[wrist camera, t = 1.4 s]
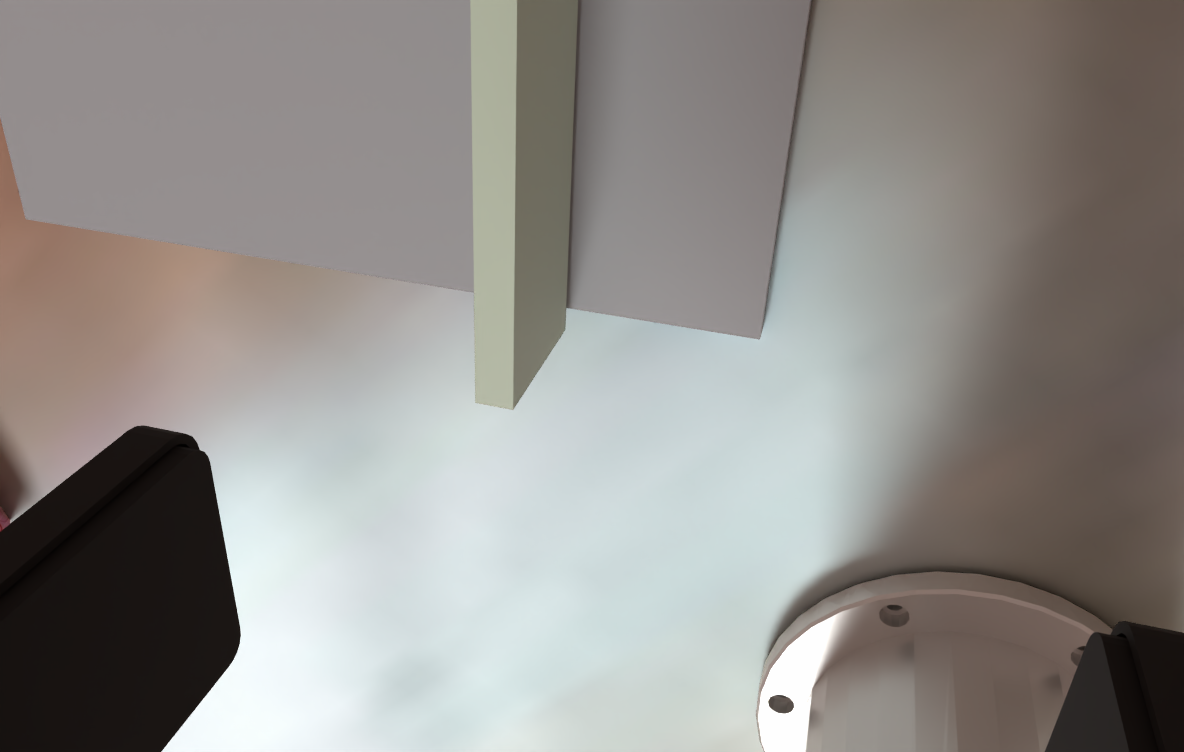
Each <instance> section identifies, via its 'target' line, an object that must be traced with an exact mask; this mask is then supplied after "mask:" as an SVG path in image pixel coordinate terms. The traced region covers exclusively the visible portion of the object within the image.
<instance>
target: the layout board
mask: <svg viewBox="0 0 1184 752" xmlns="http://www.w3.org/2000/svg"><path fill="white" fill-rule="evenodd" d="M811 2H812V0H578V15H577V41H576V67H575V92H574V118H573V144H572V170H571V195H570V221H569V247H568V273H567V298H566V308H571V309H577V310H583V311H589V312H595V313H601V314H607V315H614V316H620V317H626V318H632V319H638V320H644V321H650V322H656V323H662V324H669V325H675V326H681V327H687V328H693V329H699V330H705V331H711V332H717V333H723V334H730V335H736V336H742V337H748V338H754V339H760V337H761V333H762V329H763V322H764V315H765V309H766V302H767V295H768V289H769V282H770V275H771V269H772V262H773V255H774V249H775V242H776V235H777V229H778V222H779V215H780V209H781V202H782V195H783V189H784V182H785V176H786V169H787V162H788V156H789V149H790V142H791V136H792V129H793V122H794V116H795V109H796V102H797V96H798V89H799V82H800V76H801V69H802V62H803V56H804V49H805V42H806V36H807V29H808V22H809V16H810V9H811ZM0 118H1V122H2V126H3V130H4V134H5V138H6V142H7V146H8V150H9V154H10V158H11V162H12V166H13V170H14V174H15V178H16V182H17V186H18V190H19V194H20V198H21V202H22V206H23V210H24V214H25V218H26V219H28V220H34V221H40V222H46V223H52V224H58V225H64V226H70V227H76V228H83V229H89V230H95V231H101V232H107V233H113V234H119V235H125V236H131V237H138V238H144V239H150V240H156V241H162V242H168V243H174V244H180V245H186V246H192V247H199V248H205V249H211V250H217V251H223V252H229V253H235V254H241V255H247V256H253V257H260V258H266V259H272V260H278V261H284V262H290V263H296V264H302V265H308V266H315V267H321V268H327V269H333V270H339V271H345V272H351V273H357V274H363V275H369V276H376V277H382V278H388V279H394V280H400V281H406V282H412V283H418V284H424V285H430V286H437V287H443V288H449V289H455V290H461V291H467V292H473V293H474V251H473V171H472V90H471V9H470V0H0Z"/></svg>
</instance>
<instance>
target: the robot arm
mask: <svg viewBox="0 0 1184 752" xmlns="http://www.w3.org/2000/svg"><path fill="white" fill-rule="evenodd" d="M240 637H241V633H240V625H239V619H238V614H237V608H236V603H235V597H234V592H233V586H232V581H231V575H230V570H229V564H228V559H227V553H226V548H225V542H224V537H223V531H222V526H221V520H220V515H219V509H218V504H217V498H216V493H215V487H214V482H213V476H212V471H211V465H210V461H209V458H208V456H207V455H206V454H205V452H203V451H200V450H199V447H198V444H197V442H196V441H195V439H194V438H193V437H192V436H190V435H187V434H184V433H179V432H174V431H169V430H164V429H159V428H154V427H149V426H136V427H134V428H132V429H130V430H128V431H127V432H126V433H124V434H123V435H122V436H121V437H119V438H118V439H117V440H116V441H114V442H113V443H112V444H111V445H109V446H108V447H107V448H105V449H104V450H103V451H102V452H100V453H99V454H98V455H97V456H95V457H94V458H93V459H92V460H90V461H89V462H88V463H86V464H85V465H84V466H83V467H81V468H80V469H79V470H78V471H76V472H75V473H74V474H73V475H71V476H70V477H69V478H68V479H66V480H65V481H64V482H62V483H61V484H60V485H59V486H57V487H56V488H55V489H54V490H52V491H51V492H50V493H49V494H47V495H46V496H45V497H44V498H42V499H41V500H40V501H38V502H37V503H36V504H35V505H33V506H32V507H31V508H30V509H28V510H27V511H26V512H25V513H23V514H22V515H21V516H20V517H18V518H17V519H16V520H14V521H13V522H12V523H11V524H9V525H8V526H7V527H6V528H4V529H3V530H2V531H1V532H0V752H161V751H162V750H163V749H164V747H165V746H166V745H167V744H168V742H169V741H170V740H171V739H172V737H173V736H174V735H175V734H176V732H177V731H178V730H179V729H180V727H181V726H182V725H183V724H184V722H185V721H186V720H187V719H188V717H189V716H190V715H191V713H192V712H193V711H194V710H195V708H196V707H197V706H198V705H199V703H200V702H201V701H202V700H203V698H204V697H205V696H206V695H207V693H208V692H209V691H210V690H211V688H212V687H213V686H214V685H215V683H216V682H217V681H218V679H219V678H220V677H221V676H222V674H223V673H224V672H225V671H226V669H227V668H228V667H229V666H230V664H231V663H232V661H233V660H234V657H235V655H236V653H237V650H238V647H239V644H240ZM756 719H757V726H758V733H759V740H760V743H761V745H762V748H763V750H764V752H1184V633H1181V632H1176V631H1171V630H1166V629H1161V628H1156V627H1151V626H1146V625H1141V624H1136V623H1131V622H1126V621H1122V622H1119V623H1118V624H1117V625H1116V626H1115V627H1114V629H1113V630H1112V629H1111V628H1110V627H1109V626H1107V625H1106V624H1105V623H1104V622H1102V621H1101V620H1100V619H1099V618H1097V617H1096V616H1094V615H1093V614H1091V613H1089V612H1087V611H1085V610H1084V609H1082V608H1080V607H1078V606H1076V605H1074V604H1073V603H1071V602H1069V601H1067V600H1065V599H1063V598H1062V597H1060V596H1057V595H1054V594H1051V593H1048V592H1046V591H1043V590H1040V589H1037V588H1034V587H1032V586H1029V585H1026V584H1023V583H1021V582H1016V581H1011V580H1006V579H1001V578H996V577H991V576H986V575H981V574H971V573H954V572H937V571H935V572H924V573H912V574H900V575H893V576H889V577H885V578H881V579H877V580H872V581H868V582H864V583H860V584H857V585H855V586H852V587H850V588H848V589H845V590H843V591H841V592H838V593H836V594H834V595H831V596H829V597H827V598H825V599H823V600H822V601H820V602H819V603H817V604H816V605H814V606H813V607H811V608H810V609H809V610H807V611H806V612H804V613H803V614H801V615H800V616H799V617H798V618H797V619H796V620H795V621H794V622H793V623H792V624H791V625H790V626H789V627H788V628H787V629H786V630H785V631H784V632H783V633H782V634H781V635H780V637H779V638H778V640H777V641H776V643H775V645H774V647H773V649H772V650H771V652H770V654H769V656H768V657H767V659H766V661H765V665H764V669H763V673H762V677H761V681H760V685H759V693H758V701H757V710H756Z"/></svg>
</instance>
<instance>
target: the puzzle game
mask: <svg viewBox="0 0 1184 752" xmlns="http://www.w3.org/2000/svg"><path fill="white" fill-rule="evenodd" d="M9 524H10V519H9V518H8V517H7V515H6V514H5V512H4V511H3V509H2V508H1V506H0V532H1V531H2V530H3V529H4V528H6V527H7V526H8V525H9Z"/></svg>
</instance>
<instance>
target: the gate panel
mask: <svg viewBox="0 0 1184 752" xmlns="http://www.w3.org/2000/svg"><path fill="white" fill-rule="evenodd" d="M470 9H471V90H472V171H473V251H474V332H475V403H479V404H484V405H490V406H495V407H500V408H506V409H511V410H513V409H514V408H515V406H516V405H517V403H518V402H519V400H520V398H521V397H522V395H523V394H524V392H525V391H526V389H527V388H528V386H529V385H530V383H531V382H532V380H533V378H534V377H535V375H536V374H537V372H538V371H539V369H540V368H541V366H542V365H543V363H544V362H545V360H546V359H547V357H548V355H549V354H550V352H551V351H552V349H553V348H554V346H555V345H556V343H557V342H558V340H559V339H560V337H561V335H562V334H563V332H564V331H565V324H566V298H567V273H568V247H569V221H570V195H571V170H572V144H573V118H574V92H575V67H576V41H577V15H578V0H470Z"/></svg>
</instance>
